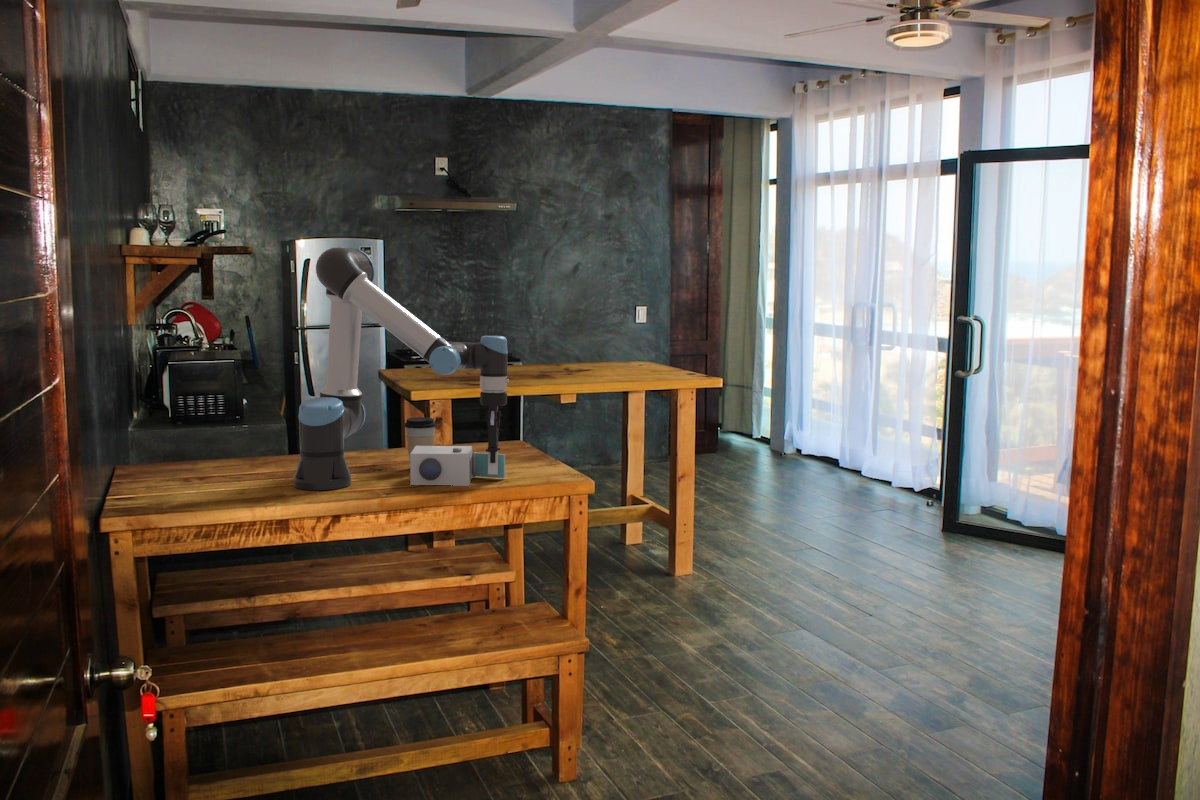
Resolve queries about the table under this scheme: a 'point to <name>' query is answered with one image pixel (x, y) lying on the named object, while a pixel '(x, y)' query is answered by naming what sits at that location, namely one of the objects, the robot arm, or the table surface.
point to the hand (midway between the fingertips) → (492, 473)
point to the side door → (486, 465)
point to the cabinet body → (441, 465)
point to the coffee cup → (419, 432)
